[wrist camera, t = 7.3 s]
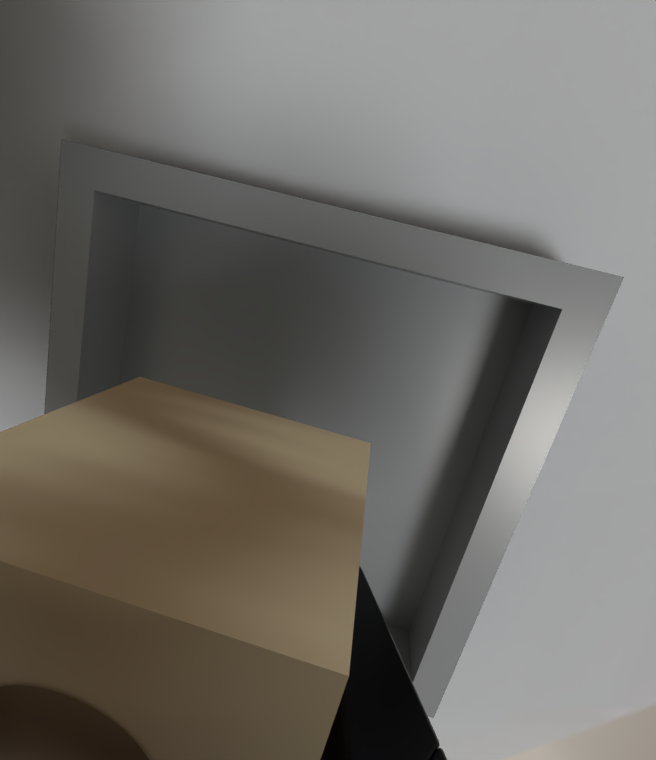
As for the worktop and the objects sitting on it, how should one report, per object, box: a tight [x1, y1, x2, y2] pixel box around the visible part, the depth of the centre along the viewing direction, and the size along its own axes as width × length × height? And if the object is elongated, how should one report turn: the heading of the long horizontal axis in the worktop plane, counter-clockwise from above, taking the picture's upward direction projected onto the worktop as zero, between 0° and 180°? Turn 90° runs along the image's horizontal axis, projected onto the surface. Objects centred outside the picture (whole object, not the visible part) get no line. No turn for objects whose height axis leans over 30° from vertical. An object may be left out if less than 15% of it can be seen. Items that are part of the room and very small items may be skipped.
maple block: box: [0, 377, 371, 760], centre depth 7 cm, size 5×5×5 cm
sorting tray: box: [44, 139, 624, 718], centre depth 13 cm, size 14×14×2 cm
